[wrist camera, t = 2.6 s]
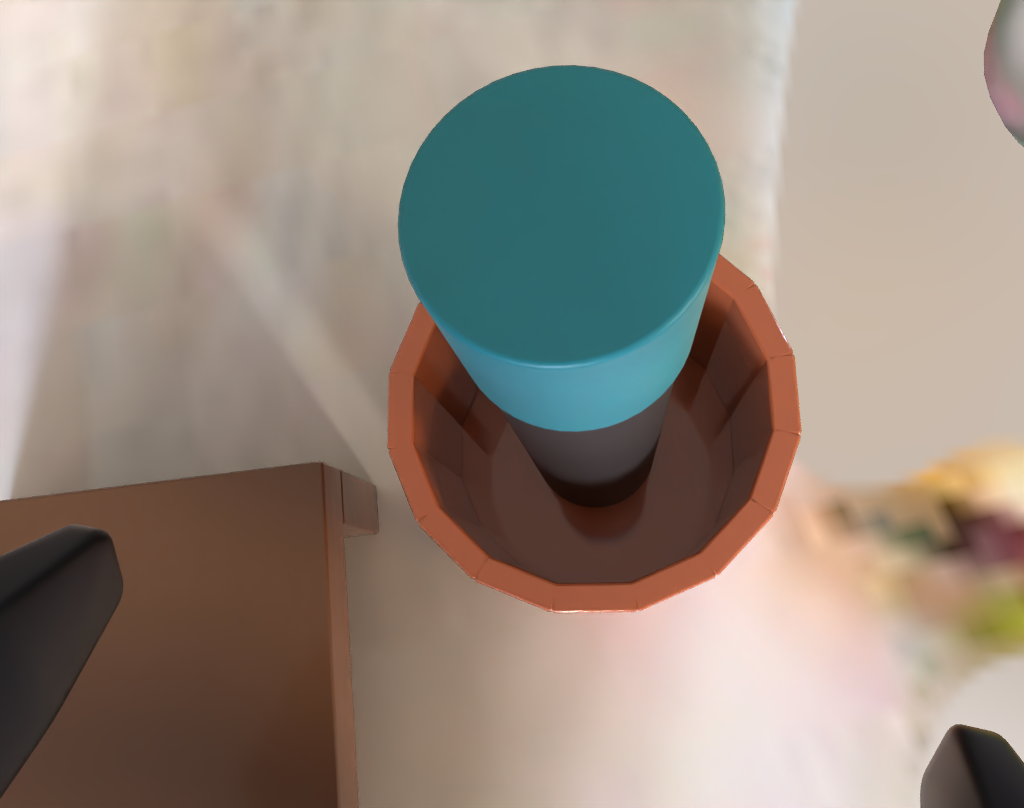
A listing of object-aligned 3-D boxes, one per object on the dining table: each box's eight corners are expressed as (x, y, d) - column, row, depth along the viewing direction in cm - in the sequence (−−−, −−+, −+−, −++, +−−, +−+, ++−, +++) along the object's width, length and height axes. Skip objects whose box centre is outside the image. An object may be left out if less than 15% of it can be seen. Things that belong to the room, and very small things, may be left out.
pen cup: (603, 676, 20) (598, 707, 14) (385, 458, 21) (307, 413, 16) (817, 444, 20) (889, 389, 15) (587, 250, 22) (577, 139, 17)
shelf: (411, 1035, 18) (357, 1151, 15) (-19, 1059, 19) (-178, 1175, 15) (376, 485, 21) (322, 460, 17) (2, 529, 22) (-129, 516, 18)
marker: (597, 538, 20) (563, 439, 7) (506, 452, 21) (331, 224, 8) (685, 446, 20) (798, 192, 8) (591, 363, 21) (551, 5, 8)
